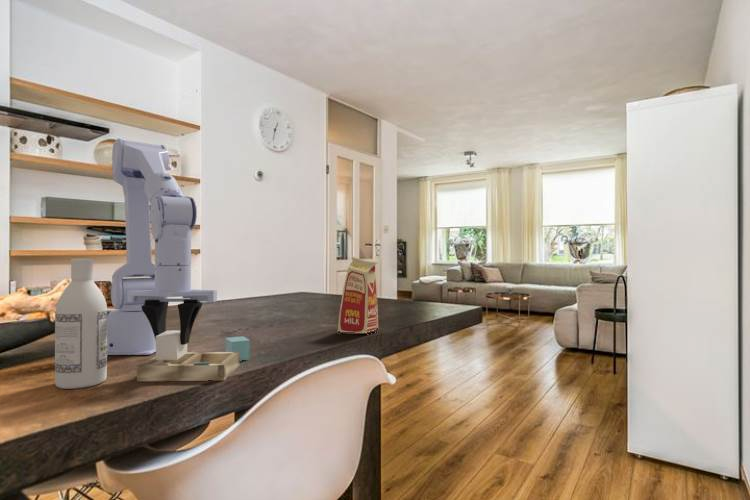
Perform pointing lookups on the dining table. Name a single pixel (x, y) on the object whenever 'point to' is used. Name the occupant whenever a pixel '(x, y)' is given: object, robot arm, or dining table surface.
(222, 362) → the slot rack
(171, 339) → the off-white plug
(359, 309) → the milk carton
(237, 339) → the teal rectangular block
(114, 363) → the dining table surface
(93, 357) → the bath foam
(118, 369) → the dining table surface
